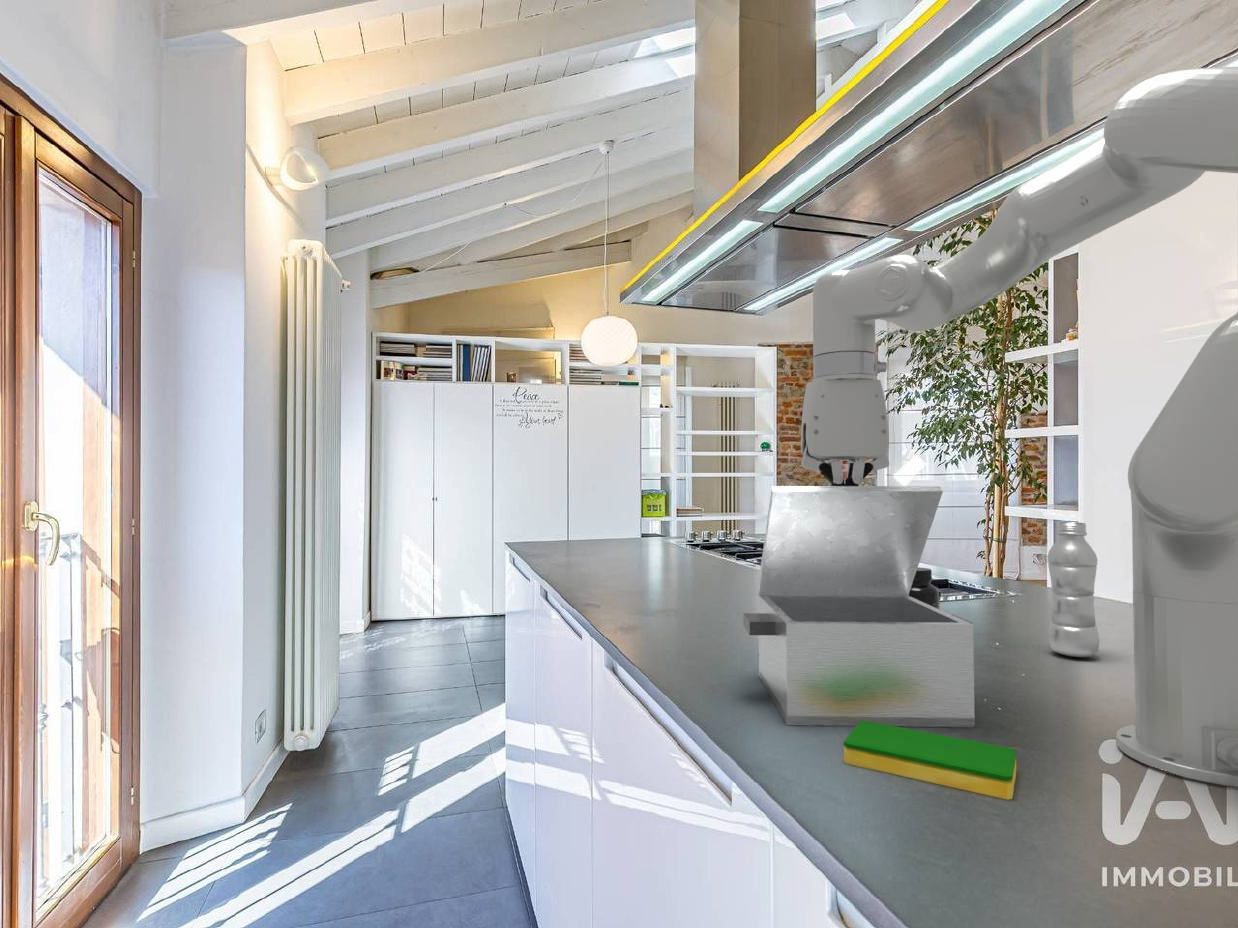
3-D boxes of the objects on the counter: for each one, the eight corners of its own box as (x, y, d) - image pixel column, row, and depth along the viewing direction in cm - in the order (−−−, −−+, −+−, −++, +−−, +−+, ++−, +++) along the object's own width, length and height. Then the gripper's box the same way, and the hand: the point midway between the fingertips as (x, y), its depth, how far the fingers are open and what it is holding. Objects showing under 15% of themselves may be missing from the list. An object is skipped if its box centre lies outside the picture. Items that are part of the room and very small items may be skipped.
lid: (942, 491, 80) (934, 475, 83) (773, 491, 81) (769, 476, 83) (908, 595, 91) (901, 579, 93) (758, 594, 92) (755, 578, 94)
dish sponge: (861, 742, 70) (861, 718, 70) (1016, 774, 62) (1016, 747, 62) (842, 767, 64) (842, 741, 64) (1012, 805, 56) (1011, 776, 56)
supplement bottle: (921, 636, 114) (920, 565, 115) (950, 645, 108) (949, 570, 108) (885, 638, 113) (884, 566, 113) (912, 648, 106) (911, 572, 106)
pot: (1003, 727, 72) (1001, 624, 73) (759, 724, 73) (758, 623, 74) (931, 677, 90) (930, 595, 91) (736, 676, 91) (736, 594, 92)
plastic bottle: (1050, 658, 100) (1048, 523, 100) (1046, 648, 106) (1044, 521, 106) (1103, 664, 97) (1101, 524, 97) (1096, 653, 103) (1093, 522, 103)
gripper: (892, 375, 89) (894, 514, 89) (778, 376, 90) (779, 513, 90) (915, 366, 82) (916, 517, 81) (791, 366, 82) (792, 517, 82)
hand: (845, 515), depth 85 cm, fingers closed
